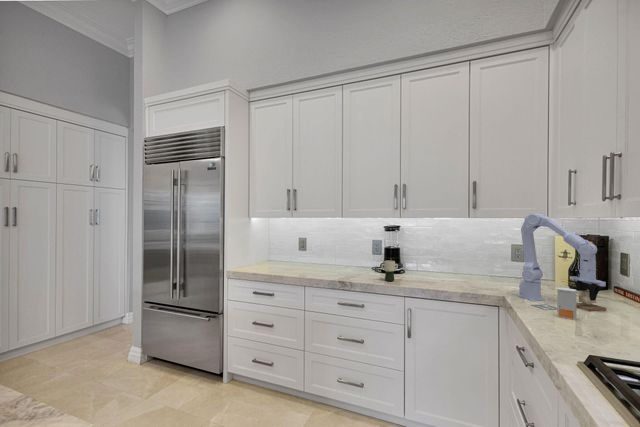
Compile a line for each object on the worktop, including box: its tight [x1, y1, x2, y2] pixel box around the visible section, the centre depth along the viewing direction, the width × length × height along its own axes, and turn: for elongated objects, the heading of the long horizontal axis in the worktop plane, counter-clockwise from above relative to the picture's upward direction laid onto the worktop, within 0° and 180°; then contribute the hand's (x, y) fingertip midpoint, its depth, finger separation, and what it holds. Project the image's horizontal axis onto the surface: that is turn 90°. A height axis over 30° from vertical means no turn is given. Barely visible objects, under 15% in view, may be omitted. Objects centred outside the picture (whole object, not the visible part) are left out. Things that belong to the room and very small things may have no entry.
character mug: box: [380, 260, 399, 282], centre depth 221 cm, size 11×7×13 cm, turn 91°
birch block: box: [578, 289, 597, 304], centre depth 154 cm, size 4×5×5 cm
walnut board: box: [576, 302, 607, 313], centre depth 154 cm, size 9×9×2 cm
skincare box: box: [556, 287, 578, 320], centre depth 140 cm, size 6×4×12 cm
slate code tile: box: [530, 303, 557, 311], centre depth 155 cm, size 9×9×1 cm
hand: (588, 299), depth 154 cm, fingers closed on birch block, 4 cm apart
